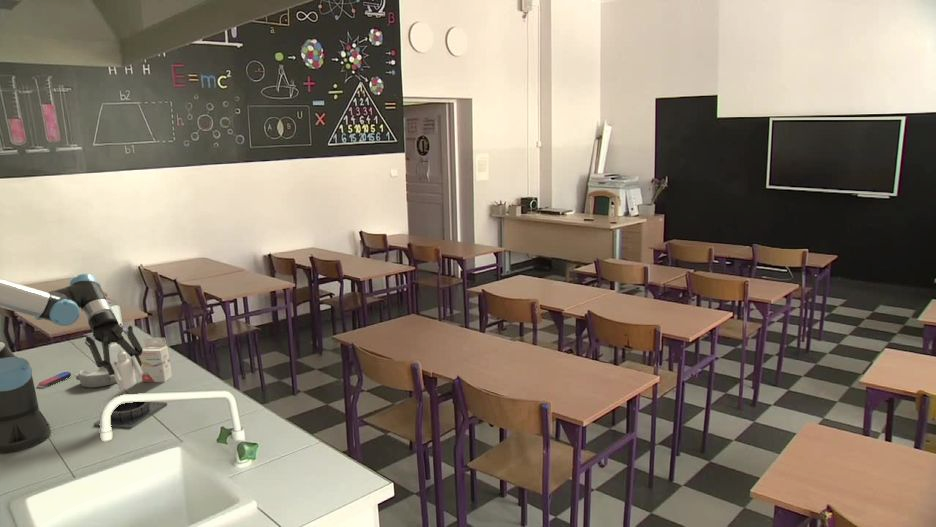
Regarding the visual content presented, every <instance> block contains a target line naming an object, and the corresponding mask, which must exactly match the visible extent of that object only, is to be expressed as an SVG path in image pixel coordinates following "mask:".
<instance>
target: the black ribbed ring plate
mask: <svg viewBox="0 0 936 527" xmlns="http://www.w3.org/2000/svg"><path fill="white" fill-rule="evenodd" d="M167 406H168V402H161V401H150V402H133V403H125V404H121V405H119V406H118V407H117V408H116V409H115V410H114V411H113V413H112V415H111V425H112V427H111V428H121V429H123V428H126V429H132V428H134V427H136V426H138V425H139V424H141V423H142V422H143V421H145V420H146V419H148V418H150V417H152V416H153V415H154V414H156V413H157V412H158V411H161V410H162V409H163V408H165V407H167ZM99 424H100V419H99V420H97V421H95V422H94V423H93V426H94V427H100V426H99Z"/></svg>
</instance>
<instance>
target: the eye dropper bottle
mask: <svg viewBox="0 0 936 527" xmlns="http://www.w3.org/2000/svg"><path fill="white" fill-rule="evenodd" d="M117 360H118V361H116V362H117V364H116V368H117V370H118V372H119V374H120V376H121V378H122V381H121V384H119V385H118V384H117V385H118V389H119V390H128V389H130V388H132V387H134V386H135V385H136V383H137V379H136V374H135V373H136V372H135V369H134V366H133V363H132V360H131V358H128V353H127V352H126V351H124V349H123V348H119V352H118V353H117Z"/></svg>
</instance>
